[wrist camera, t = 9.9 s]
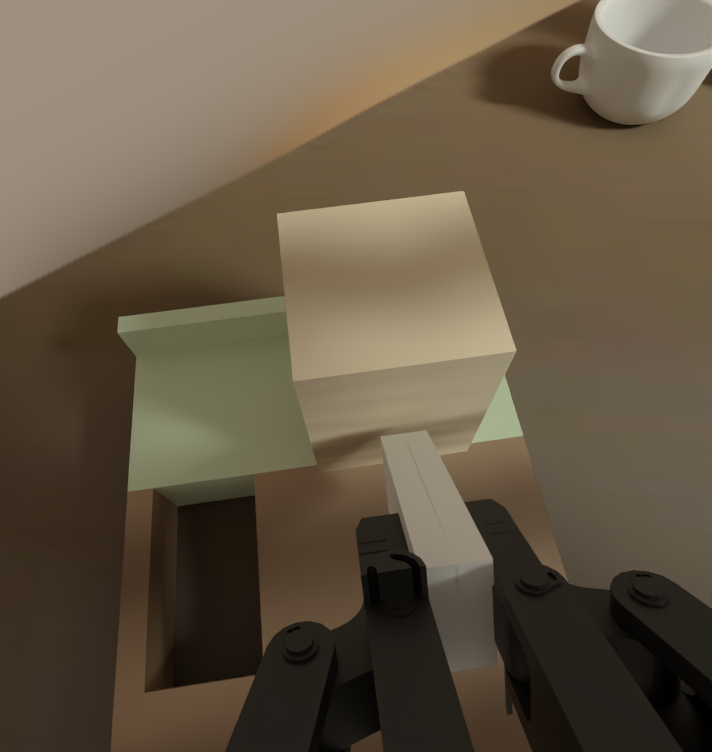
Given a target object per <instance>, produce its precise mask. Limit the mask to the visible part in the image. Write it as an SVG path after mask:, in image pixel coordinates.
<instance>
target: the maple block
mask: <svg viewBox="0 0 712 752" xmlns="http://www.w3.org/2000/svg"><path fill="white" fill-rule="evenodd" d="M277 220H278V230H279V241H280V251H281V262H282V272H283V282H284V293H285V303H286V314H287V324H288V335H289V345H290V356H291V366H292V376H293V383H294V387H295V390H296V394H297V397H298V401H299V404H300V407H301V411H302V414H303V418H304V421H305V425H306V428H307V432H308V435H309V439H310V442H311V445H312V449H313V452H314V456H315V459H316V463H317V466H318V470H319V473H320V472H327V471H334V470H341V469H347V468H354V467H361V466H368V465H375V464H382V463H383V456H382V447H381V438H380V437H381V436H388V435H396V434H403V433H410V432H418V431H425V430H427V432H428V434H429V436H430V438H431V440H432V442H433V444H434V446H435V447H436V449H437V451H438V453H439V455H444V454H451V453H458V452H465V451H468V449H469V446H470V444H471V442H472V440H473V438H474V436H475V434H476V432H477V430H478V428H479V426H480V424H481V422H482V420H483V418H484V416H485V414H486V412H487V410H488V408H489V406H490V404H491V402H492V400H493V398H494V396H495V394H496V392H497V390H498V388H499V386H500V384H501V382H502V380H503V378H504V376H505V373H506V371H507V369H508V367H509V365H510V363H511V361H512V359H513V357H514V355H515V353H516V348H515V345H514V342H513V339H512V336H511V333H510V330H509V327H508V324H507V321H506V318H505V315H504V312H503V309H502V306H501V303H500V300H499V296H498V293H497V290H496V287H495V284H494V281H493V278H492V275H491V272H490V269H489V266H488V263H487V260H486V257H485V254H484V251H483V248H482V245H481V242H480V239H479V236H478V233H477V230H476V227H475V224H474V221H473V218H472V215H471V212H470V209H469V206H468V202H467V199H466V196H465V193H464V191H459V192H451V193H443V194H435V195H427V196H418V197H410V198H402V199H394V200H386V201H377V202H369V203H361V204H353V205H345V206H337V207H328V208H320V209H312V210H304V211H296V212H287V213H279V214H277Z"/></svg>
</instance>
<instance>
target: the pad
mask: <svg viewBox="0 0 712 752" xmlns="http://www.w3.org/2000/svg"><path fill="white" fill-rule="evenodd" d="M117 333H118V334H119V336H120V337H121V338H122V339H123V341H124V342H125V343H126V344H127V346H128V347H129V348H130V349H131V351H132V352H133V353H134V354H135V356H136V370H135V385H134V401H133V416H132V431H131V446H130V461H129V476H128V491H127V492H130V491H137V490H144V489H151V488H153V489H155V490H156V491H157V492H159V493H160V494H162V495H163V496H164V497H166V498H167V499H168V500H170V501H171V502H172V503H174V504H175V505H177V506H184V505H191V504H198V503H205V502H212V501H219V500H226V499H233V498H240V497H247V496H254V495H255V484H254V474H258V473H265V472H272V471H279V470H286V469H293V468H300V467H307V466H314V465H317V463H316V459H315V456H314V452H313V449H312V445H311V442H310V439H309V435H308V432H307V428H306V425H305V421H304V418H303V414H302V411H301V407H300V404H299V401H298V397H297V394H296V390H295V387H294V383H293V376H292V366H291V356H290V345H289V335H288V324H287V314H286V303H285V296H281V297H273V298H265V299H257V300H249V301H241V302H233V303H226V304H218V305H210V306H202V307H194V308H186V309H178V310H170V311H162V312H155V313H147V314H139V315H131V316H123V317H119V319H118V330H117ZM520 436H523V433H522V430H521V427H520V424H519V420H518V417H517V414H516V411H515V407H514V404H513V401H512V397H511V394H510V391H509V388H508V384H507V381H506V378H505V376H504V378H503V380H502V382H501V384H500V386H499V388H498V390H497V392H496V394H495V396H494V398H493V400H492V402H491V404H490V406H489V408H488V410H487V412H486V414H485V416H484V418H483V420H482V422H481V424H480V426H479V428H478V430H477V432H476V434H475V436H474V438H473V440H472V442H471V443H477V442H485V441H492V440H499V439H506V438H513V437H520Z"/></svg>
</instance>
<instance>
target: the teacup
mask: <svg viewBox="0 0 712 752" xmlns="http://www.w3.org/2000/svg"><path fill="white" fill-rule="evenodd" d="M577 55H578V56H580V57H581V59H580V64H579V77H578V79H576V80H574V81H564V80H561V79H560V78H559V73H560V70H561V68H562V66H563V64H564V63H565V62H566V61H567V60H568V59H569V58H571V57H573V56H577ZM711 69H712V0H600V1H599V3H598V4H597V6H596V8H595V11H594V14H593V16H592V19H591V23H590V26H589V29H588V33H587V36H586V40H585V43H584V44H577V45H574V46H571V47H569V48H567V49H566V50H564V51H563V52H562V53H561V54H560V55H559V56H558V58H557V59H556V61H555V63H554V65H553V67H552V70H551V78H552V81H553V82H554V84H555V85H556V86H557V87H559V88H560V89H562V90H565V91H567V92H571V93H576V94H581V95H583V97H584V99H585V101H586V102H587V104H588V105H589V106H590V107H591V108H592V109H593V110H594V111H595V112H596V113H597V114H599V115H600V116H601V117H603V118H605V119H607V120H609V121H611V122H614V123H618V124H623V125H640V124H647V123H652V122H655V121H658V120H661V119H663V118H665V117H667V116H669V115H670V114H672V113H674V112H675V111H677V110H678V109H679V108H681V107H682V106H683V105H684V104H685V103H686V102H687V101H688V100H689V99H690V98H691V97H692V95H693V94H694V93H695V92H696V90H697V89H698V87H699V86H700V85H701V83H702V82H703V80H704V79H705V77H706V76H707V74H708V73H709V71H710V70H711Z"/></svg>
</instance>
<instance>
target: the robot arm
mask: <svg viewBox="0 0 712 752" xmlns="http://www.w3.org/2000/svg"><path fill="white" fill-rule="evenodd" d="M380 438H381V447H382V456H383V465H384V474H385V483H386V492H387V502H388V511H389V514H388V515H381V516H374V517H367V518H362V519H361V521H360V522H359V524H358V526H357V528H356V530H355V531H356V539H357V547H358V555H359V563H360V571H361V582H362V590H363V604H362V607H361V609H360V610H359V612H358V613H357V615H356V616H355V617H353V618H352V619H351V620H350V621H349V622H347V623H345V624H343V625H342V626H340V627H337V628H335V629H333V630H330V629H328V628H327V627H325V626H324V625H322V624H321V623H317V622H312V621H304V622H296V623H294V624H291V625H289V626H286V627H284V628H283V629H281V630H280V631H279V632H278V633H277V634H275V635H274V636H273V638H272V639H271V641H270V642H269V644H268V645H267V648H266V650H265V653H264V655H263V658H262V660H261V663H260V665H259V668H258V670H257V673H256V675H255V678H254V680H253V683H252V685H251V688H250V690H249V693H248V695H247V698H246V700H245V703H244V705H243V708H242V710H241V713H240V715H239V718H238V720H237V723H236V725H235V728H234V730H233V733H232V735H231V738H230V740H229V743H228V745H227V748H226V750H225V752H351V745H353V744H355V743H357V742H359V741H360V740H362V739H364V738H366V737H368V736H370V735H372V734H374V733H376V732H378V731H379V730H381V736H382V743H383V751H384V752H475V751H474V748H473V745H472V741H471V738H470V735H469V731H468V728H467V725H466V721H465V718H464V715H463V711H462V708H461V705H460V701H459V698H458V695H457V691H456V688H455V685H454V681H453V678H452V675H451V672H456V671H463V670H469V669H476V668H482V667H489V666H495V665H497V648H498V650H499V653H500V655H501V657H502V660H503V662H504V674H505V701H506V710H507V715H511V714H513V712H512V702H513V705H514V707H515V710H516V712H517V715H518V717H519V720H520V722H521V725H522V727H523V730H524V732H525V735H526V737H527V740H528V742H529V745H530V747H531V750H532V752H712V609H711V608H710V607H708V606H707V605H705V604H704V603H703V602H701V601H700V600H698V599H697V598H696V597H694V596H693V595H691V594H690V593H689V592H687V591H686V590H684V589H683V588H682V587H680V586H679V585H677V584H676V583H674V582H673V581H671V580H669V579H667V578H665V577H663V576H661V575H658V574H654V573H651V572H648V571H635V570H633V571H628V572H622V573H620V574H619V575H617V576H616V577H614V578H613V580H612V583H611V585H610V590H604V589H593V588H584V587H578V586H574V585H570V584H569V583H568V582H567V580H566V579H565V578H564V577H563V576H562V575H561V574H560V573H559V572H558V571H556V570H554V569H552V568H550V567H548V566H545V565H542V563H541V562H540V560H539V559H538V557H537V556H536V554H535V553H534V551H533V550H532V548H531V546H530V545H529V543H528V542H527V540H526V539H525V537H524V536H523V534H522V533H521V532H520V531H519V528H518V526H517V525H516V523H515V522H513V519H512V517H511V516H510V514H509V513H508V511H507V510H506V508H505V507H504V506H502V505H500V504H499V503H497V502H496V501H494V500H493V499H484V500H477V501H470V502H463V500H462V498H461V496H460V494H459V492H458V490H457V488H456V486H455V484H454V482H453V480H452V478H451V476H450V475H449V473H448V471H447V469H446V467H445V465H444V463H443V461H442V459H441V457H440V455H439V453H438V451H437V449H436V447H435V446H434V444H433V442H432V440H431V438H430V436H429V434H428V432H427V430H425V431H418V432H410V433H403V434H396V435H388V436H381V437H380Z"/></svg>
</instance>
